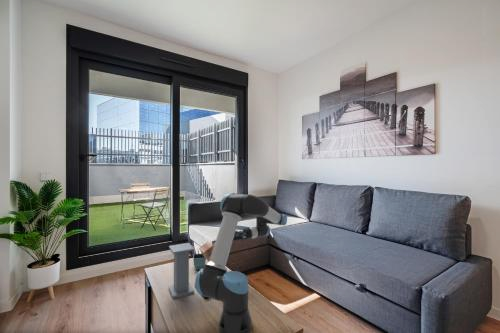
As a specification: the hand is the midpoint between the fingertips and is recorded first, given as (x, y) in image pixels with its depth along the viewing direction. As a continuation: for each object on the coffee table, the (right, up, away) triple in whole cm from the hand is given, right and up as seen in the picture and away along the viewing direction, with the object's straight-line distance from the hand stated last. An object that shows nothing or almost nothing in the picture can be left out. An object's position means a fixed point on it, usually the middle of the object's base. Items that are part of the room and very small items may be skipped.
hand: (218, 238), depth 148 cm
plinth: (-20, -28, -12) cm, 36 cm away
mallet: (+2, -6, +1) cm, 6 cm away
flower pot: (-17, -28, +19) cm, 38 cm away
